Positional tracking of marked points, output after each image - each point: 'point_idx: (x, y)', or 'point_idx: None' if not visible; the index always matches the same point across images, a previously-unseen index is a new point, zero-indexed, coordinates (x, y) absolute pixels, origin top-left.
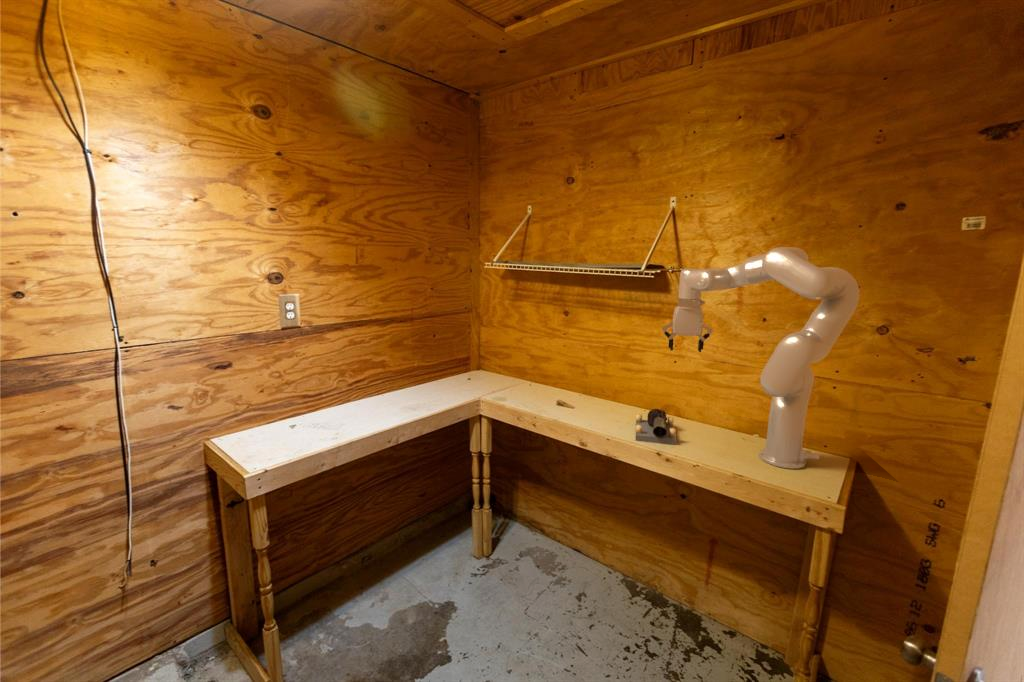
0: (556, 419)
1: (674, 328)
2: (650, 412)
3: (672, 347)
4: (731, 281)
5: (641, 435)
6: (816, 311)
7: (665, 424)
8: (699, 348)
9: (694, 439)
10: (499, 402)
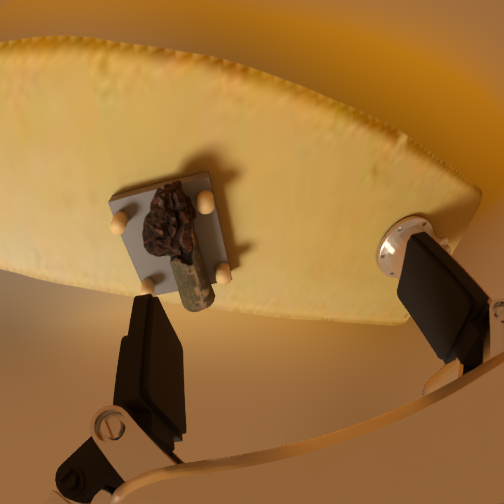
0: None
1: None
2: (151, 252)
3: (179, 369)
4: None
5: (159, 293)
6: None
7: (204, 283)
8: (411, 313)
9: (268, 224)
10: None
